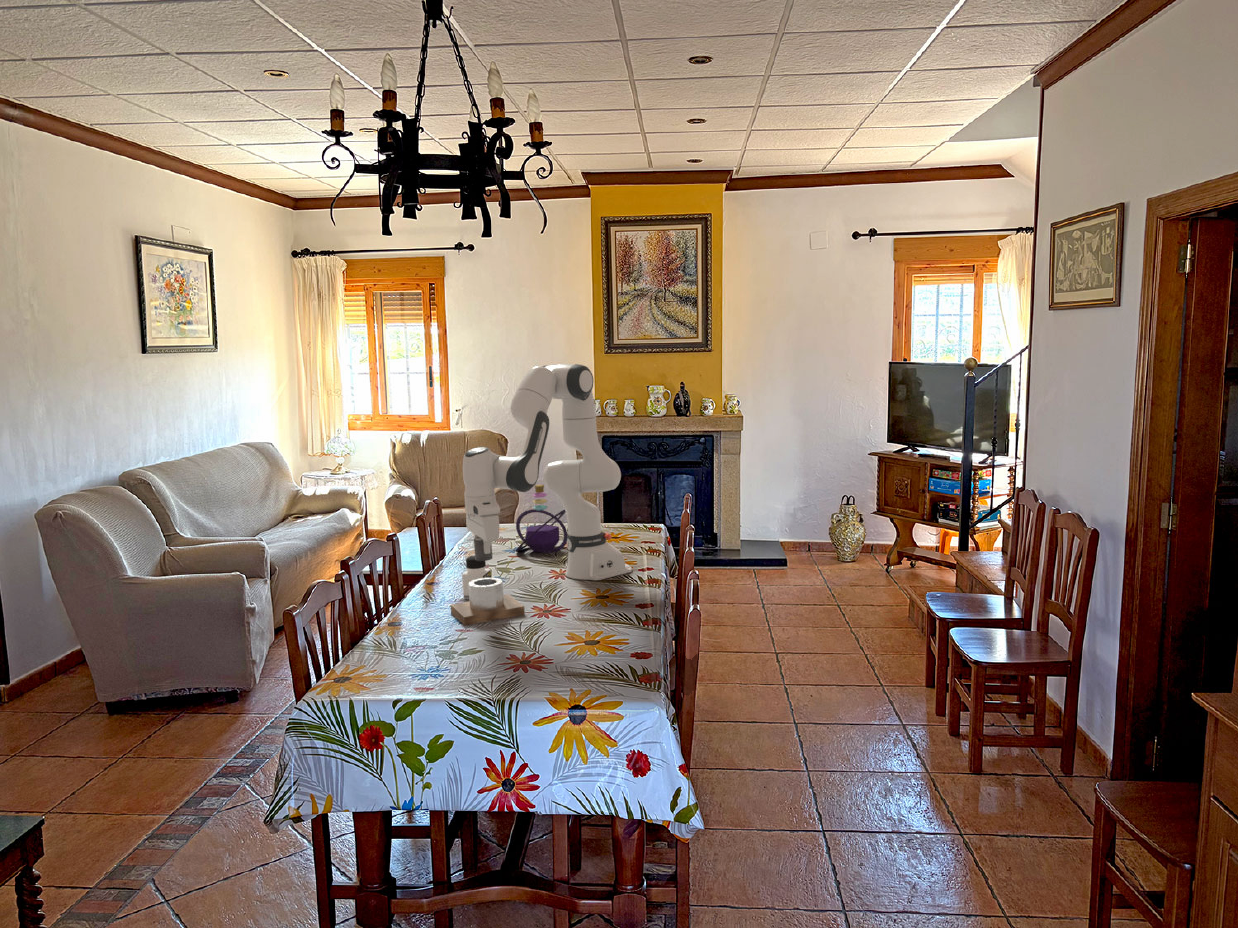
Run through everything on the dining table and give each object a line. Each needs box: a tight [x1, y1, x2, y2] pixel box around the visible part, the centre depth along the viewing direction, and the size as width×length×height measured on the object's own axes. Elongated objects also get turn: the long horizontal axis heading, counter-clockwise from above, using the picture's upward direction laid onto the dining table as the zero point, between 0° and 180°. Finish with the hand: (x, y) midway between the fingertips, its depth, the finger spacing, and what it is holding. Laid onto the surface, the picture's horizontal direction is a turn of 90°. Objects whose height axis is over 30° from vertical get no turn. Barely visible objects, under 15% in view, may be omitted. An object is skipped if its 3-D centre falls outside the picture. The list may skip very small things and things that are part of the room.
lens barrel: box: [468, 577, 504, 611], centre depth 259 cm, size 10×10×7 cm
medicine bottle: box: [461, 554, 492, 597], centre depth 280 cm, size 7×7×12 cm
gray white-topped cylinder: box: [473, 537, 493, 562], centre depth 257 cm, size 5×5×6 cm
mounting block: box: [450, 594, 526, 627], centre depth 259 cm, size 18×14×2 cm
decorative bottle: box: [515, 484, 568, 554], centre depth 331 cm, size 22×21×25 cm
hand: (483, 550), depth 257 cm, fingers closed on gray white-topped cylinder, 5 cm apart
